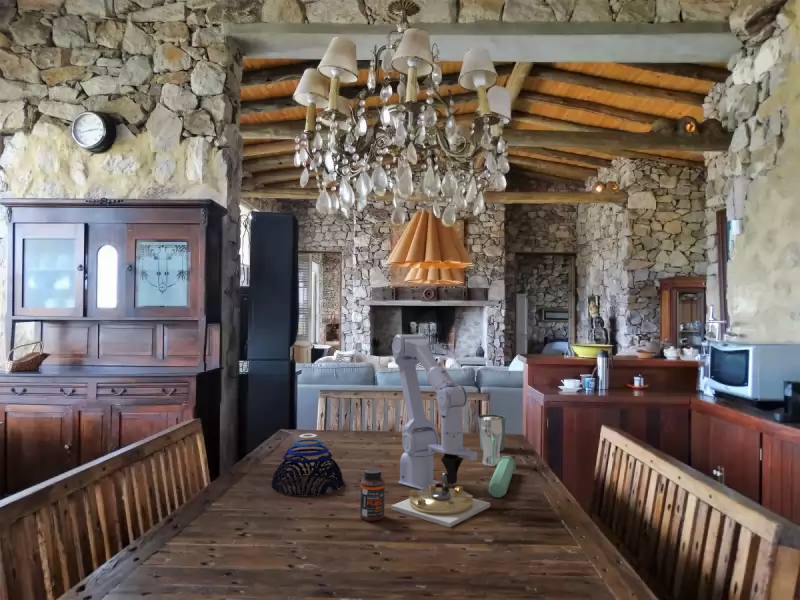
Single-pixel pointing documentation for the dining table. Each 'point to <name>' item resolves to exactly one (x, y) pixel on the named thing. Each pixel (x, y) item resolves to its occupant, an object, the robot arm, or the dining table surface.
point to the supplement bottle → (372, 495)
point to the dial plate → (441, 519)
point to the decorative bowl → (329, 472)
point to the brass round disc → (441, 499)
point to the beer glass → (491, 439)
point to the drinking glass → (502, 428)
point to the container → (502, 476)
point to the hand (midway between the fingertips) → (452, 483)
